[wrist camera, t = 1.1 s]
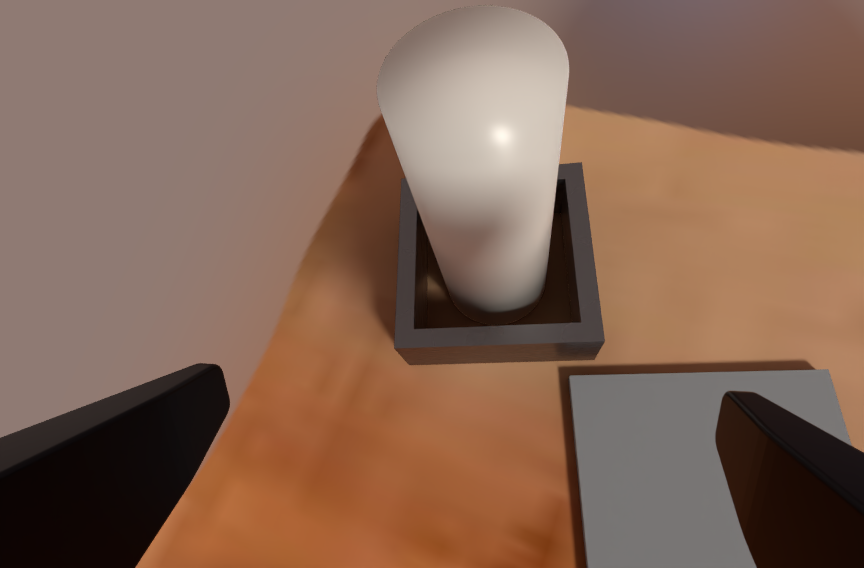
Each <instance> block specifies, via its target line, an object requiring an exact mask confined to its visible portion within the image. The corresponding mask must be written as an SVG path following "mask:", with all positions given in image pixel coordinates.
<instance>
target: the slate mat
mask: <svg viewBox="0 0 864 568" xmlns="http://www.w3.org/2000/svg"><path fill="white" fill-rule="evenodd" d="M568 380H569V391H570V401H571V412H572V422H573V432H574V443H575V453H576V464H577V474H578V484H579V495H580V505H581V515H582V526H583V536H584V547H585V557H586V567H587V568H757V567H756V565H755V563H754V560H753V558H752V556H751V553H750V551H749V548H748V546H747V543H746V541H745V538H744V536H743V533H742V530H741V527H740V524H739V521H738V517H737V514H736V511H735V507H734V504H733V501H732V498H731V494H730V491H729V488H728V484H727V481H726V478H725V474H724V471H723V468H722V464H721V461H720V458H719V454H718V451H717V448H716V442H715V432H716V427H717V421H718V416H719V411H720V406H721V401H722V397H723V395H724V394H725V393H726V392H727V391H749V392H755V393H757V394H759V395H761V396H763V397H765V398H766V399H768V400H770V401H772V402H774V403H775V404H777V405H779V406H781V407H782V408H784V409H786V410H788V411H790V412H791V413H793V414H795V415H797V416H799V417H800V418H802V419H804V420H806V421H808V422H809V423H811V424H813V425H815V426H817V427H818V428H820V429H822V430H824V431H826V432H827V433H829V434H831V435H833V436H835V437H836V438H838V439H840V440H842V441H844V442H845V443H847V444H849V445H851V442H850V439H849V435H848V432H847V429H846V425H845V422H844V419H843V416H842V412H841V409H840V406H839V402H838V399H837V396H836V393H835V389H834V386H833V383H832V379H831V376H830V373H829V370H828V369H826V370H784V371H741V372H699V373H657V374H614V375H572V376H569V378H568ZM851 446H852V445H851Z"/></svg>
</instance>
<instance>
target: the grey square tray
mask: <svg viewBox="0 0 864 568" xmlns="http://www.w3.org/2000/svg"><path fill="white" fill-rule="evenodd" d="M554 213H561V222H562V232H563V242H564V251H565V261H566V271H567V280H568V290H569V299H570V309H571V319H572V323H556V324H531V325H506V326H481V327H456V328H432V329H427V279H428V236H427V233H426V230H425V227H424V225H423V222H422V219H421V217H420V214H419V211H418V209H417V206H416V203H415V201H414V198H413V195H412V193H411V190H410V187H409V185H408V182H407V179H406V178H405V179H401V201H400V225H399V248H398V272H397V295H396V319H395V342H394V349H395V350H396V351H397V352H398V353H399V354H400V355H401V356H402V358H403V359H404V360H405V361H406V362H407V363H408V364H409V365H431V364H466V363H501V362H536V361H571V360H595V358H596V356H597V354H598V353H599V351H600V349H601V347H602V345H603V344H604V342H605V339H604V331H603V324H602V316H601V308H600V300H599V293H598V285H597V277H596V269H595V262H594V254H593V246H592V238H591V231H590V223H589V215H588V207H587V200H586V192H585V184H584V176H583V169H582V162H581V163H570V164H559V167H558V176H557V185H556V194H555V203H554V212H553V214H554Z"/></svg>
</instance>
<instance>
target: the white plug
mask: <svg viewBox="0 0 864 568" xmlns="http://www.w3.org/2000/svg"><path fill="white" fill-rule="evenodd" d="M568 78H569V61H568V56H567V52H566V50H565V47H564V45H563V43H562V41H561V40H560V39H559V37H558V35H557V34H556V33H555V32H554V31H553V30H552V29H551V28H550V27H549V26H548V25H547V24H545V23H544V22H543V21H541V20H539V19H538V18H536V17H535V16H532V15H530V14H528V13H526V12H523V11H520V10H517V9H513V8H508V7H503V6H492V5H488V6H487V5H483V6H482V5H480V6H469V7H464V8H458V9H454V10H451V11H447V12H444V13H442V14H439V15H436V16H434V17H432V18H430V19H428V20H426V21H424V22H422V23H421V24H419V25H417V26H416V27H414V28H413V29H412V30H410V31H409V32H408V33H406V34H405V35H404V36H403V37H402V38H401V39H400V40H399V41H398V42H397V43H396V44H395V45H394V47H393V48H392V49H391V50H390V52H389V54H388V55H387V57H386V58H385V60H384V62H383V64H382V66H381V69H380V72H379V75H378V81H377V99H378V104H379V107H380V110H381V112H382V115H383V118H384V120H385V123H386V126H387V128H388V131H389V134H390V136H391V139H392V142H393V145H394V147H395V150H396V153H397V155H398V158H399V161H400V163H401V166H402V169H403V171H404V174H405V177H406V179H407V182H408V185H409V187H410V190H411V193H412V195H413V198H414V201H415V203H416V206H417V209H418V211H419V214H420V217H421V219H422V222H423V225H424V227H425V230H426V233H427V236H428V238H429V241H430V244H431V246H432V249H433V252H434V254H435V257H436V260H437V262H438V265H439V268H440V270H441V273H442V276H443V278H444V281H445V284H446V286H447V289H448V292H449V294H450V297H451V299H452V301H453V303H454V304H455V306H456V307H457V308H458V309H459V310H460V312H461V313H463V314H464V315H465V316H467V317H468V318H470V319H472V320H474V321H476V322H479V323H482V324H487V325H504V324H508V323H512V322H515V321H517V320H519V319H521V318H523V317H525V316H526V315H527V314H529V313H530V312H531V311H532V310H533V309H534V308H535V307H536V305H537V304H538V303H539V301H540V299H541V297H542V295H543V292H544V289H545V283H546V274H547V265H548V256H549V247H550V238H551V229H552V221H553V212H554V203H555V194H556V185H557V176H558V167H559V158H560V149H561V140H562V131H563V123H564V114H565V105H566V95H567V87H568Z"/></svg>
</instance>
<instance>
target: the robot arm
mask: <svg viewBox="0 0 864 568" xmlns="http://www.w3.org/2000/svg"><path fill="white" fill-rule="evenodd" d="M229 407H230V399H229V395H228V391H227V387H226V383H225V379H224V375H223V371H222V369H221V368H220V366H218V365H216V364H203V363H200V364H195V365H192V366H190V367H187V368H185V369H182V370H179V371H176V372H174V373H171V374H168V375H166V376H163V377H160V378H158V379H155V380H153V381H150V382H147V383H144V384H142V385H139V386H137V387H134V388H131V389H129V390H126V391H123V392H121V393H118V394H115V395H113V396H110V397H108V398H105V399H102V400H100V401H97V402H94V403H92V404H89V405H86V406H84V407H81V408H78V409H76V410H73V411H70V412H68V413H65V414H62V415H60V416H57V417H55V418H52V419H49V420H46V421H44V422H41V423H39V424H36V425H33V426H31V427H28V428H25V429H23V430H20V431H17V432H15V433H12V434H9V435H7V436H4V437H1V438H0V568H135V567H136V565H137V564H138V562H139V561H140V559H141V558H142V556H143V555H144V553H145V552H146V550H147V549H148V547H149V546H150V544H151V543H152V541H153V540H154V538H155V536H156V535H157V533H158V532H159V530H160V529H161V527H162V526H163V524H164V523H165V521H166V520H167V518H168V517H169V515H170V514H171V512H172V511H173V509H174V507H175V506H176V504H177V503H178V501H179V500H180V498H181V497H182V495H183V494H184V492H185V491H186V489H187V487H188V486H189V484H190V483H191V481H192V479H193V477H194V476H195V474H196V472H197V470H198V468H199V467H200V465H201V463H202V461H203V459H204V457H205V455H206V453H207V451H208V450H209V448H210V445H211V444H212V442H213V440H214V438H215V436H216V434H217V432H218V431H219V429H220V427H221V425H222V423H223V421H224V419H225V417H226V415H227V413H228V411H229ZM715 442H716V448H717V451H718V454H719V458H720V461H721V464H722V468H723V471H724V474H725V478H726V481H727V484H728V488H729V491H730V494H731V498H732V501H733V504H734V507H735V511H736V514H737V517H738V521H739V524H740V527H741V530H742V533H743V536H744V538H745V541H746V543H747V546H748V548H749V551H750V553H751V556H752V558H753V560H754V563H755V565H756V567H757V568H864V453H863V452H862V451H860V450H858V449H856V448H854V447H853V446H851V445H849V444H847V443H845V442H844V441H842V440H840V439H838V438H836V437H835V436H833V435H831V434H829V433H827V432H826V431H824V430H822V429H820V428H818V427H817V426H815V425H813V424H811V423H809V422H808V421H806V420H804V419H802V418H800V417H799V416H797V415H795V414H793V413H791V412H790V411H788V410H786V409H784V408H782V407H781V406H779V405H777V404H775V403H774V402H772V401H770V400H768V399H766V398H765V397H763V396H761V395H759V394H757V393H755V392H749V391H727V392H726V393H725V394H724V395H723V397H722V401H721V406H720V411H719V416H718V421H717V427H716V432H715Z"/></svg>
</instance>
